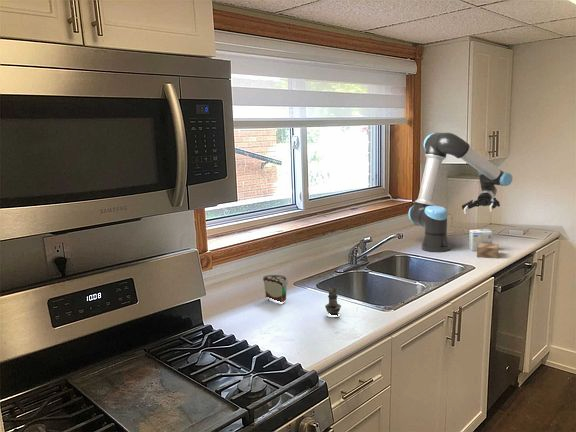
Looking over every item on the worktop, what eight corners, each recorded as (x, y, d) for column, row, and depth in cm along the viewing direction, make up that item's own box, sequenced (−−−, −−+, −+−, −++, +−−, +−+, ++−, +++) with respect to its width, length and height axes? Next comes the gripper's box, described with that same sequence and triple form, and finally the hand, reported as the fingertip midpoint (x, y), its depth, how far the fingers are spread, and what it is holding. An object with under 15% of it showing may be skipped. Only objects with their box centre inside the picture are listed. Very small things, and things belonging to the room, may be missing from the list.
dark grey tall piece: (335, 311, 178) (334, 280, 176) (344, 316, 173) (343, 285, 170) (322, 314, 175) (321, 283, 173) (331, 319, 170) (330, 288, 168)
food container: (295, 301, 189) (294, 278, 188) (284, 306, 185) (283, 281, 183) (274, 295, 198) (273, 272, 196) (263, 299, 194) (262, 276, 192)
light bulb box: (488, 248, 258) (489, 228, 256) (492, 251, 251) (493, 231, 249) (468, 248, 259) (468, 229, 257) (471, 251, 252) (472, 231, 250)
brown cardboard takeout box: (476, 257, 241) (477, 247, 240) (477, 252, 250) (478, 242, 249) (498, 258, 237) (498, 248, 236) (498, 253, 246) (498, 243, 245)
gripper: (509, 201, 267) (502, 215, 251) (464, 206, 282) (455, 218, 266) (507, 189, 265) (500, 201, 249) (462, 194, 280) (453, 206, 264)
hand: (477, 210), depth 257 cm, fingers open, 13 cm apart
